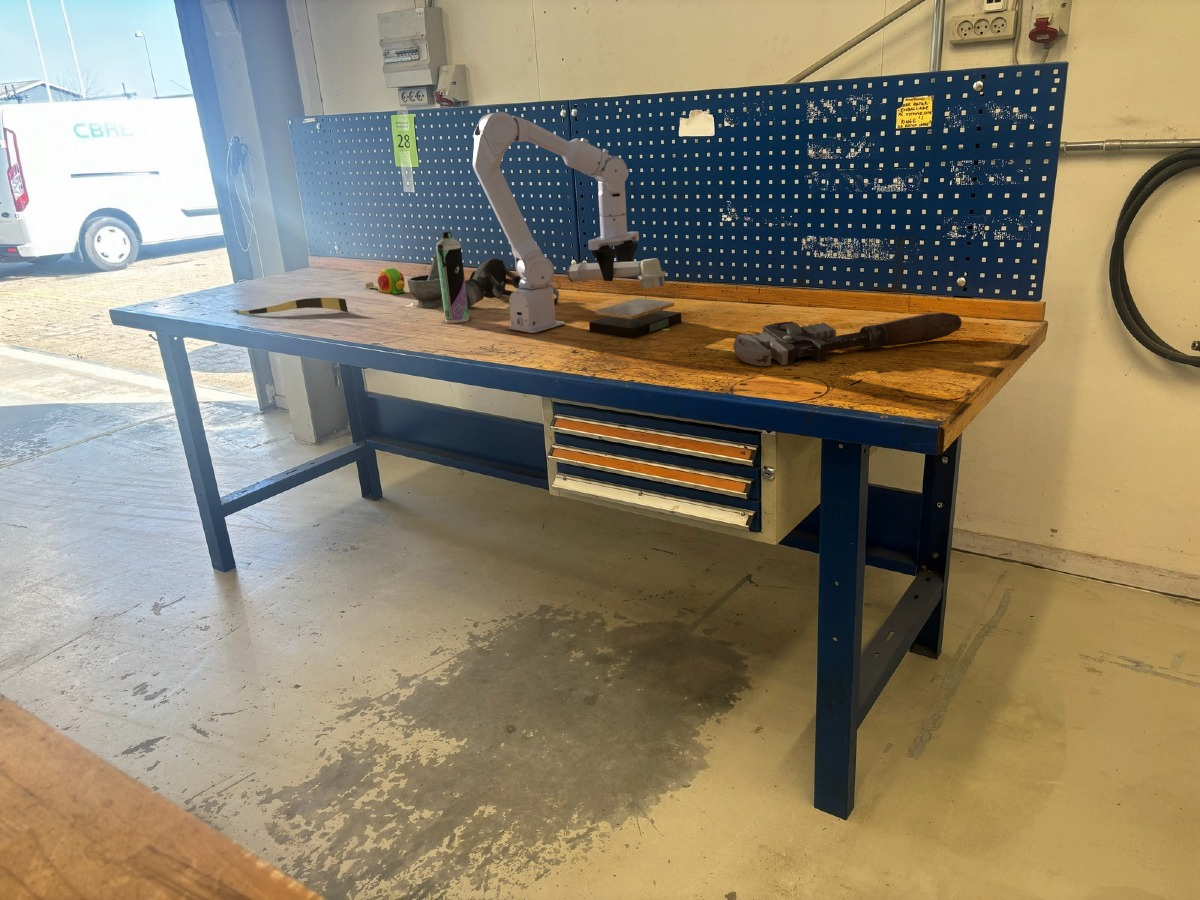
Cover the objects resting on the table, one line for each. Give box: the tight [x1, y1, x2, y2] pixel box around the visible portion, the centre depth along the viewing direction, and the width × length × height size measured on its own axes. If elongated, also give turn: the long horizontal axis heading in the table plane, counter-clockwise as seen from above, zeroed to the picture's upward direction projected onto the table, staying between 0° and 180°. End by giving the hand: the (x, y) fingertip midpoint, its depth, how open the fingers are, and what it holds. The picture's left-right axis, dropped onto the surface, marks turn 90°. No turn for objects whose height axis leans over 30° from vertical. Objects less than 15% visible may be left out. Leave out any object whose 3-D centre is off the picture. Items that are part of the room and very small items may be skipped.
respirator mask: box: [465, 257, 560, 309], centre depth 211 cm, size 20×22×15 cm
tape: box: [231, 297, 349, 315], centre depth 216 cm, size 6×38×4 cm, turn 69°
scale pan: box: [594, 297, 675, 319], centre depth 178 cm, size 14×10×2 cm
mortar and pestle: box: [407, 253, 443, 309], centre depth 213 cm, size 11×9×12 cm
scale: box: [588, 309, 682, 339], centre depth 179 cm, size 16×12×2 cm
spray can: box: [435, 231, 470, 324], centre depth 192 cm, size 6×6×20 cm
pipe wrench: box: [732, 312, 963, 367], centre depth 154 cm, size 43×13×5 cm, turn 106°
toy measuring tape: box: [364, 267, 406, 295], centre depth 237 cm, size 6×20×7 cm, turn 42°
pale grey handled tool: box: [566, 257, 667, 289], centre depth 186 cm, size 5×7×25 cm
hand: (616, 278), depth 187 cm, fingers closed on pale grey handled tool, 5 cm apart
